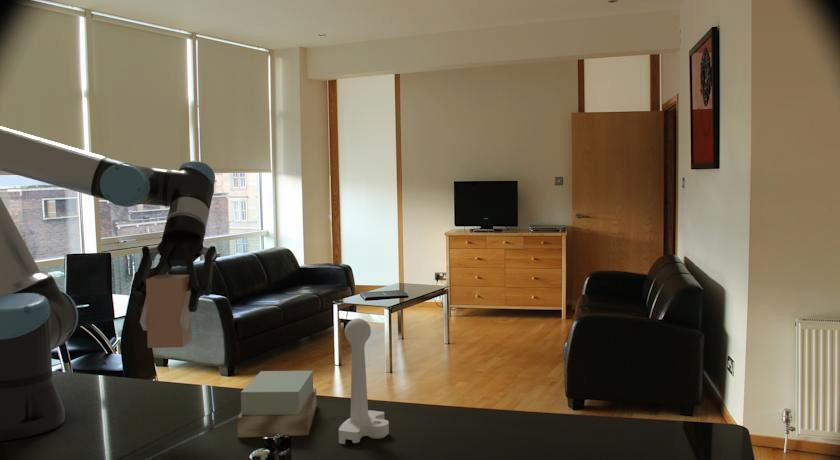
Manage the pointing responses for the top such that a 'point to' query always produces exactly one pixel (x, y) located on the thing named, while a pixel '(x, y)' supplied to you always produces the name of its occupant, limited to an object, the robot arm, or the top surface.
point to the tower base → (278, 422)
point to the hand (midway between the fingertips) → (163, 325)
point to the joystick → (360, 391)
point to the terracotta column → (166, 311)
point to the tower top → (277, 393)
